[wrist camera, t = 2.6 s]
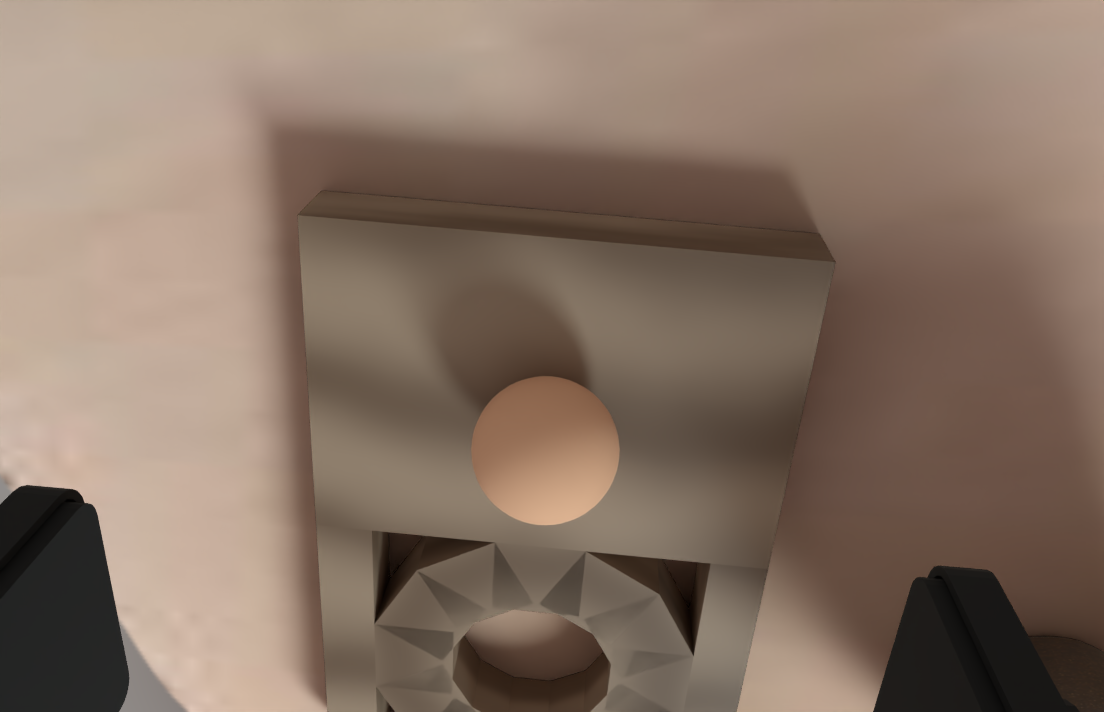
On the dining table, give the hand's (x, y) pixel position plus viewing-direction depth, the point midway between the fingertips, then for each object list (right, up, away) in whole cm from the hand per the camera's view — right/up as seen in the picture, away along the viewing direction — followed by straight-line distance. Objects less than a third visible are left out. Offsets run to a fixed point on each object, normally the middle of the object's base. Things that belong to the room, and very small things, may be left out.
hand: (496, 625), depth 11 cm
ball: (0, 0, +17) cm, 18 cm away
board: (0, -3, +24) cm, 25 cm away
